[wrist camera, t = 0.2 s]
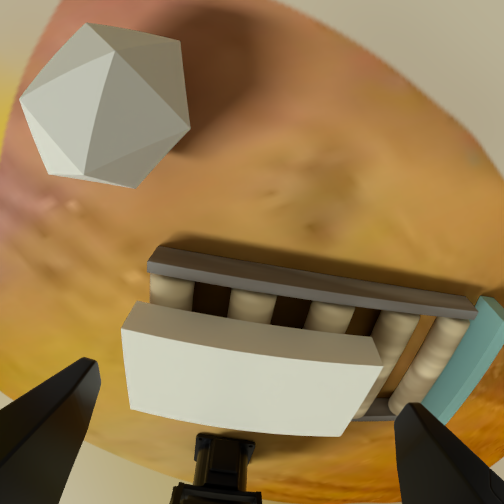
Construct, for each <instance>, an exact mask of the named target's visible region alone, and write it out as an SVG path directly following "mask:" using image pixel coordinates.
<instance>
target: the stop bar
mask: <svg viewBox="0 0 504 504" xmlns="http://www.w3.org/2000/svg"><path fill="white" fill-rule="evenodd" d="M475 308H476V309H477V310H478V311H479V312H478V314H477V316H476V318H475V320H469V321H470V325H469V327H468V329H467V331H466V333H465V335H464V336H463V338H462V340H461V342H460V343H459V345H458V347H457V348H456V350H455V352H454V353H453V355H452V357H451V358H450V360H449V362H448V363H447V365H446V366H445V368H444V369H443V371H442V373H441V374H440V376H439V377H438V379H437V380H436V382H435V383H434V385H433V386H432V387H431V389H430V390H429V392H428V393H427V395H426V396H425V397H424V399H423V400H422V402H421V404H422V405H423V406H424V407H425V408H426V409H428V410H429V411H430V412H431V413H432V414H433V415H434V416H435V417H436V418H437V419H438V420H439V421H440V422H441V423H442V424H444V425H446V423H447V422H448V421H449V420H450V419H451V417H452V416H453V415H454V414H455V413H456V411H457V410H458V409H459V408H460V406H461V405H462V404H463V402H464V401H465V400H466V399H467V397H468V396H469V395H470V393H471V392H472V391H473V389H474V388H475V386H476V385H477V384H478V382H479V381H480V379H481V378H482V377H483V375H484V374H485V372H486V371H487V369H488V368H489V366H490V365H491V363H492V362H493V360H494V359H495V357H496V356H497V354H498V352H499V351H500V349H501V348H502V346H503V344H504V308H503V307H502V306H501V305H500V304H499V303H498V302H497V301H496V300H495V299H494V298H492V297H486V296H480V297H479V299H478V301H477V303H476V305H475Z"/></svg>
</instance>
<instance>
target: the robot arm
mask: <svg viewBox="0 0 504 504" xmlns="http://www.w3.org/2000/svg"><path fill="white" fill-rule="evenodd" d="M100 386H101V378H100V373H99V367H98V363H97V361H95V360H93V359H90V358H86V357H83V358H81V359H79V360H77V361H76V362H74V363H73V364H71V365H70V366H68V367H66V368H65V369H63V370H62V371H60V372H59V373H57V374H55V375H54V376H52V377H51V378H49V379H48V380H46V381H44V382H43V383H41V384H40V385H38V386H37V387H35V388H33V389H32V390H30V391H29V392H27V393H26V394H24V395H22V396H21V397H19V398H18V399H16V400H15V401H13V402H11V403H10V404H8V405H7V406H5V407H4V408H2V409H1V410H0V504H59V501H60V498H61V496H62V493H63V490H64V488H65V485H66V482H67V479H68V477H69V474H70V472H71V469H72V467H73V464H74V462H75V459H76V457H77V454H78V452H79V449H80V447H81V445H82V442H83V440H84V438H85V435H86V432H87V430H88V426H89V423H90V420H91V416H92V413H93V409H94V406H95V403H96V399H97V396H98V393H99V390H100ZM394 431H395V445H396V461H397V471H398V477H399V484H400V491H401V498H402V504H504V481H503V480H502V479H501V478H500V477H499V476H498V475H497V474H496V473H495V472H494V471H492V470H491V469H489V467H488V466H487V465H486V464H485V463H484V462H483V461H482V460H481V459H480V458H479V457H478V456H477V455H475V454H474V453H473V452H472V451H471V450H470V449H469V448H468V447H467V446H466V445H465V444H464V443H463V442H462V441H461V440H460V439H458V438H457V437H456V436H455V435H454V434H453V433H452V432H451V431H450V430H449V429H448V428H447V427H446V426H445V425H444V424H442V423H441V422H440V421H439V420H438V419H437V418H436V417H435V416H434V415H433V414H432V413H431V412H430V411H429V410H428V409H426V408H425V407H424V406H423V405H422V404H421V403H419V402H409V403H407V404H406V405H405V406H404V408H403V409H402V410H401V412H400V413H399V415H398V416H397V417H396V419H395V422H394ZM254 449H255V442H252V441H244V440H236V439H228V438H221V437H215V436H208V435H202V434H198V435H197V436H196V445H195V456H194V460H195V461H196V462H197V463H196V469H195V475H194V481H193V485H190V484H184V483H182V482H179V485H178V486H175V487H173V492H172V497H171V501H170V503H169V504H262V496H261V492H257V491H256V492H247V491H246V484H247V466H248V464H249V461H250V459H251V456H252V454H253V451H254Z"/></svg>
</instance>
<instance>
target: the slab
mask: <svg viewBox="0 0 504 504" xmlns="http://www.w3.org/2000/svg"><path fill="white" fill-rule="evenodd" d="M121 335H122V345H123V355H124V364H125V373H126V380H127V388H128V395H129V401H130V408H131V409H133V410H137V411H141V412H145V413H149V414H153V415H158V416H162V417H167V418H171V419H176V420H181V421H186V422H191V423H197V424H202V425H208V426H214V427H221V428H228V429H235V430H243V431H251V432H261V433H271V434H284V435H300V436H328V437H340V436H341V435H342V433H343V432H344V430H345V429H346V427H347V426H348V424H349V423H350V421H351V420H352V418H353V417H354V415H355V413H356V412H357V410H358V409H359V407H360V406H361V404H362V402H363V401H364V399H365V397H366V396H367V394H368V392H369V391H370V389H371V387H372V386H373V384H374V382H375V381H376V379H377V377H378V375H379V374H380V372H381V370H382V368H383V367H384V366H383V363H382V361H381V358H380V356H379V353H378V351H377V348H376V346H375V344H374V341H373V339H372V337H367V336H357V335H347V334H338V333H329V332H321V331H313V330H305V329H297V328H290V327H282V326H275V325H269V324H262V323H255V322H249V321H243V320H236V319H230V318H224V317H218V316H213V315H207V314H201V313H196V312H191V311H185V310H180V309H175V308H170V307H165V306H160V305H155V304H150V303H145V302H141V301H136V303H135V305H134V306H133V308H132V310H131V312H130V313H129V315H128V317H127V318H126V320H125V322H124V324H123V325H122V327H121Z"/></svg>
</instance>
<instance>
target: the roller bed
mask: <svg viewBox="0 0 504 504" xmlns="http://www.w3.org/2000/svg"><path fill="white" fill-rule="evenodd" d="M147 272H149V273H150V304H155V305H160V306H165V307H170V308H175V309H180V310H185V311H191V312H192V303H193V293H194V283H195V281H197V282H202V283H208V284H214V285H220V286H225V287H231V288H232V291H231V297H230V302H229V308H228V315H227V318H230V319H236V320H243V321H249V322H255V323H262V324H269V325H270V322H271V318H272V314H273V310H274V306H275V302H276V298H277V295H281V296H287V297H294V298H300V299H307V300H312V303H311V306H310V309H309V312H308V315H307V319H306V322H305V325H304V328H303V329H305V330H313V331H321V332H329V333H338V334H345V332H346V330H347V327H348V325H349V323H350V320H351V318H352V315H353V313H354V310H355V306H357V307H364V308H372V309H380V310H381V313H380V315H379V317H378V320H377V322H376V324H375V326H374V329H373V331H372V333H371V335H370V337H372V339H373V341H374V344H375V346H376V348H377V351H378V353H379V356H380V358H381V361H382V363H383V366H384V367H383V368H382V370H381V372H380V374H379V375H378V377H377V379H376V381H375V382H374V384H373V386H372V387H371V389H370V391H369V392H368V394H367V396H366V397H365V399H364V401H363V402H362V404H361V406H360V407H359V409H358V410H357V412H356V413H355V415H354V417H353V418H352V420H351V421H394V420H395V419H396V417H397V416H398V415H399V413H400V412H401V410H402V409H403V408H404V406H405V405H406V404H407V403H409V402H419V403H421V402H422V400H423V399H424V397H425V396H426V395H427V393H428V392H429V390H430V389H431V387H432V386H433V385H434V383H435V382H436V380H437V379H438V377H439V376H440V374H441V373H442V371H443V369H444V368H445V366H446V365H447V363H448V362H449V360H450V358H451V357H452V355H453V353H454V352H455V350H456V348H457V347H458V345H459V343H460V342H461V340H462V338H463V336H464V335H465V333H466V331H467V329H468V327H469V325H470V321H469V320H475V318H476V316H477V314H478V312H479V311H478V310H477V309H476V308H475V307H474V306H473V304H472V303H471V302H470V301H469V300H468V299H467V298H466V296H459V295H452V294H446V293H439V292H433V291H427V290H420V289H414V288H407V287H401V286H395V285H388V284H382V283H376V282H370V281H363V280H357V279H351V278H345V277H339V276H333V275H326V274H320V273H314V272H308V271H302V270H296V269H290V268H284V267H278V266H272V265H266V264H260V263H254V262H249V261H243V260H237V259H231V258H225V257H219V256H213V255H208V254H202V253H196V252H190V251H185V250H179V249H173V248H167V247H162V246H158V247H157V248H156V250H155V251H154V253H153V254H152V255H151V257H150V258H149V260H148V261H147ZM419 314H421V315H430V316H437V317H436V319H435V321H434V323H433V325H432V327H431V329H430V331H429V333H428V335H427V337H426V339H425V340H424V342H423V344H422V346H421V348H420V349H419V351H418V353H417V355H416V357H415V358H414V360H413V362H412V363H411V365H410V367H409V368H408V370H407V372H406V373H405V375H404V377H403V378H402V380H401V382H400V383H399V385H398V386H397V388H396V389H395V391H394V393H393V394H392V396H391V397H390V398H376V396H377V395H378V393H379V392H380V390H381V388H382V387H383V385H384V383H385V382H386V380H387V378H388V377H389V375H390V373H391V372H392V370H393V368H394V366H395V365H396V363H397V361H398V359H399V357H400V356H401V354H402V352H403V350H404V348H405V346H406V345H407V343H408V341H409V339H410V337H411V335H412V333H413V331H414V329H415V327H416V325H417V323H418V321H419V319H420V315H419Z"/></svg>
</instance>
